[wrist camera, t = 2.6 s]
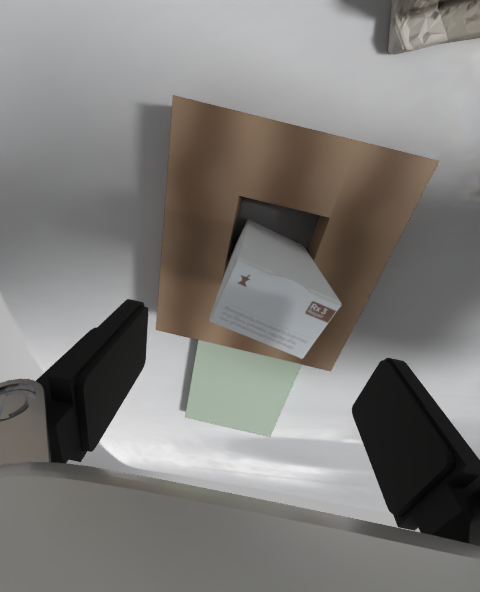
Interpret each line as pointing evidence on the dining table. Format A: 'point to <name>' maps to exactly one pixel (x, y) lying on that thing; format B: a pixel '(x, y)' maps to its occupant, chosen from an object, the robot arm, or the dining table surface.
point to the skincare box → (274, 292)
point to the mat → (239, 388)
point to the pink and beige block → (432, 23)
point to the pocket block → (284, 192)
